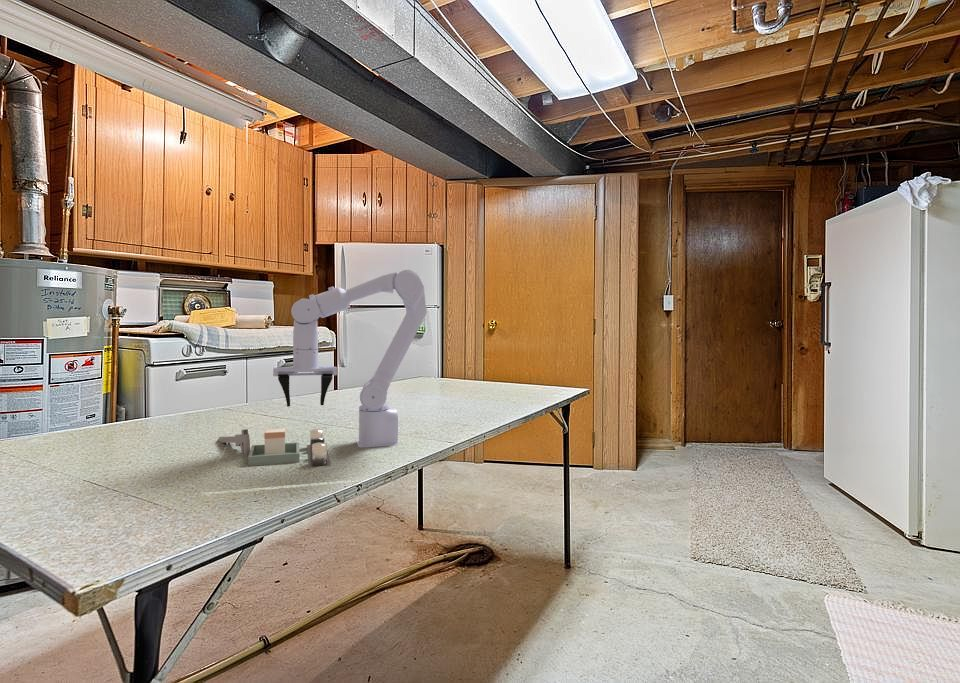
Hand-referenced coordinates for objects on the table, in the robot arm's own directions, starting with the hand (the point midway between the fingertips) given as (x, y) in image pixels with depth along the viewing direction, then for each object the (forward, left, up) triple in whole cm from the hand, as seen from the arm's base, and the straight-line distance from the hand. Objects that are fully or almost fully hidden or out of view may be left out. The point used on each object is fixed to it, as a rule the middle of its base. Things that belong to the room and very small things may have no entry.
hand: (305, 405), depth 125 cm
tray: (+7, +11, -10) cm, 16 cm away
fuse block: (-2, +11, -10) cm, 15 cm away
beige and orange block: (+7, +11, -9) cm, 16 cm away
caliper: (+16, -2, -10) cm, 19 cm away
